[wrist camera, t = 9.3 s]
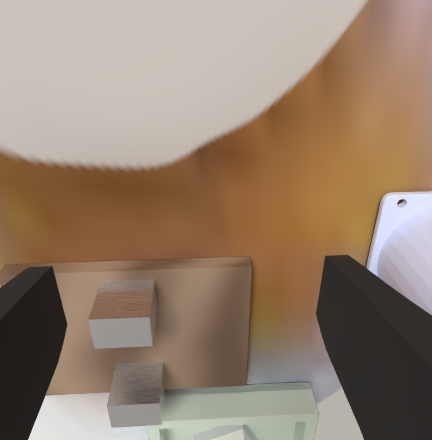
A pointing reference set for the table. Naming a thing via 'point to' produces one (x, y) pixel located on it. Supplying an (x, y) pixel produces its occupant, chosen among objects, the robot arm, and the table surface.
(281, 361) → the table surface
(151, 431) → the tray
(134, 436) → the table surface
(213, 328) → the clip board
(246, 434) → the white and orange block
